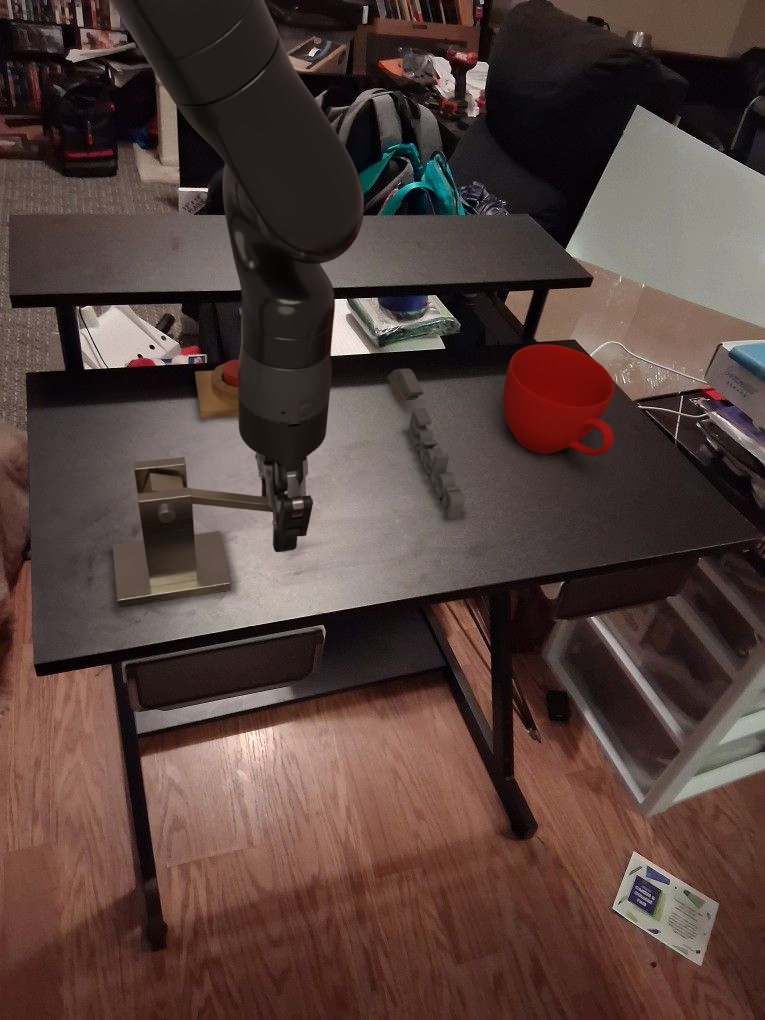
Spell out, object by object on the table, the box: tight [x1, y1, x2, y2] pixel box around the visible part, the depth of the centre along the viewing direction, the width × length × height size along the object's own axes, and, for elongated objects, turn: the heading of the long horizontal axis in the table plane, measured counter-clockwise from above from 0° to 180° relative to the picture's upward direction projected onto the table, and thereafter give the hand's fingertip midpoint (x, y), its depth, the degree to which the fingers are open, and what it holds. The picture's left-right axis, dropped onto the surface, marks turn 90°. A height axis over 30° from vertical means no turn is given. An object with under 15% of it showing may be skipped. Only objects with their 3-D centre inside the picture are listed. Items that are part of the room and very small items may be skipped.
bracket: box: [112, 456, 232, 609], centre depth 68 cm, size 10×7×13 cm, turn 108°
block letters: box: [386, 368, 465, 520], centre depth 89 cm, size 25×2×6 cm, turn 16°
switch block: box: [194, 363, 239, 419], centre depth 92 cm, size 10×8×3 cm
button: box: [223, 359, 239, 387], centre depth 91 cm, size 4×4×2 cm
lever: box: [143, 473, 283, 513], centre depth 67 cm, size 13×5×2 cm, turn 107°
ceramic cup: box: [502, 343, 615, 456], centre depth 91 cm, size 13×17×10 cm
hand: (278, 526), depth 73 cm, fingers closed on lever, 5 cm apart
